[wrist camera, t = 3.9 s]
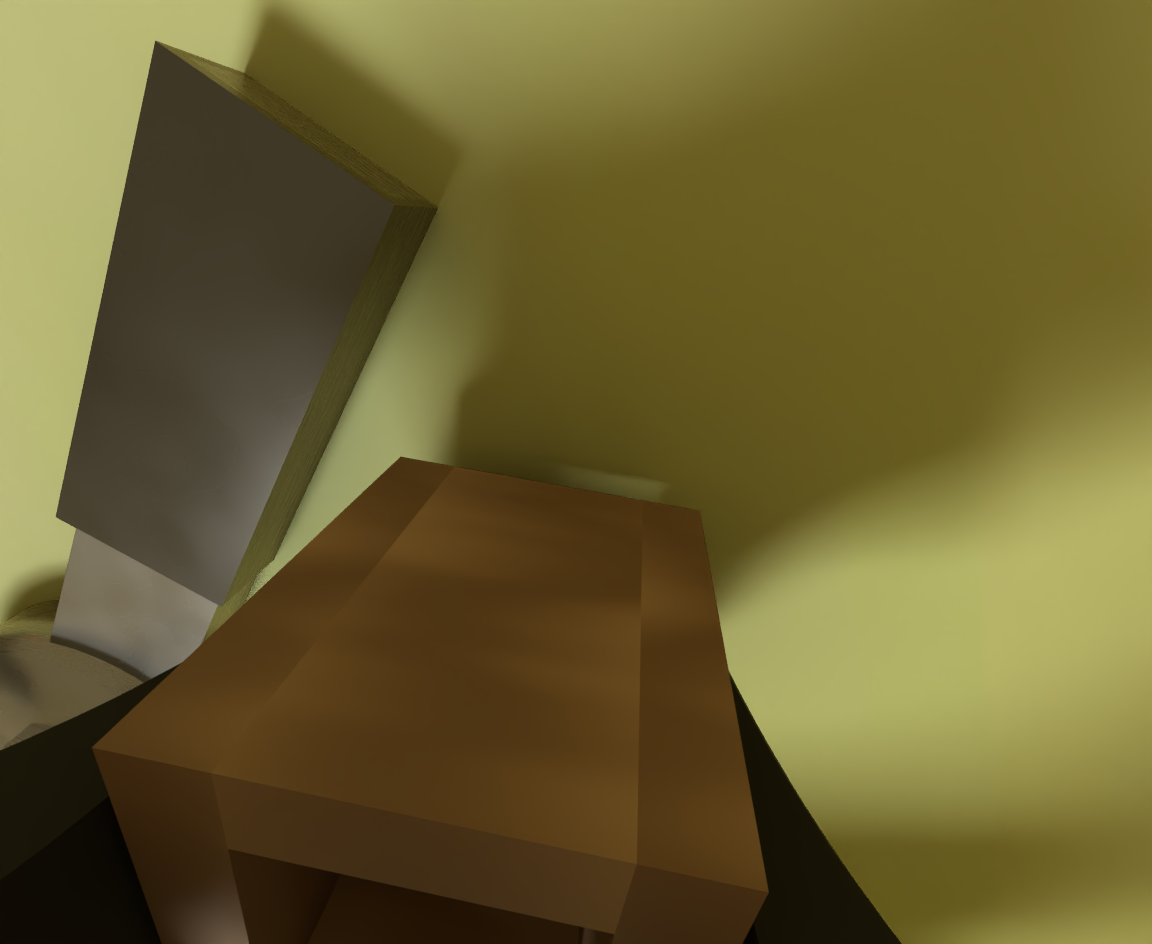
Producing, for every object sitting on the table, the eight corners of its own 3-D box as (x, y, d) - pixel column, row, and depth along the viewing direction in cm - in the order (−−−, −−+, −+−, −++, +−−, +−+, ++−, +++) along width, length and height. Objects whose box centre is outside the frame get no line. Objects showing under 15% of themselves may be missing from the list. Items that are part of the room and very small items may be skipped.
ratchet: (117, -16, 8) (-627, -347, 4) (546, 282, 10) (439, 349, 5) (-12, 718, 17) (-281, 921, 12) (222, 831, 18) (64, 1058, 13)
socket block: (699, 510, 9) (769, 893, 4) (640, 725, 12) (635, 1152, 6) (400, 456, 10) (92, 746, 4) (400, 676, 12) (199, 1046, 7)
